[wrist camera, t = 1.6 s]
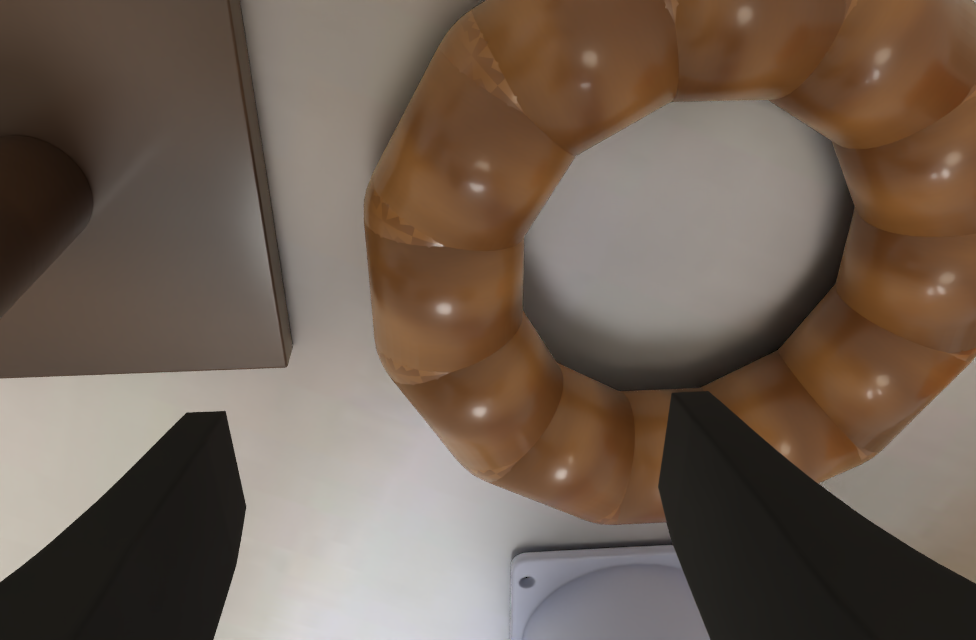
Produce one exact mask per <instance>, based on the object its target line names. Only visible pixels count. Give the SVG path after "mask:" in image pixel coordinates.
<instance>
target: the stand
mask: <svg viewBox="0 0 976 640" xmlns="http://www.w3.org/2000/svg"><path fill="white" fill-rule="evenodd" d="M292 348H293V346H292V339H291V333H290V326H289V319H288V313H287V306H286V300H285V293H284V287H283V280H282V274H281V267H280V261H279V254H278V248H277V241H276V235H275V228H274V221H273V215H272V208H271V202H270V195H269V189H268V182H267V176H266V169H265V163H264V156H263V150H262V143H261V137H260V130H259V123H258V117H257V110H256V104H255V97H254V91H253V84H252V78H251V71H250V65H249V58H248V52H247V45H246V39H245V32H244V25H243V19H242V12H241V6H240V0H0V378H24V377H50V376H77V375H103V374H129V373H155V372H181V371H207V370H233V369H260V368H285V367H287V366H288V362H289V359H290V355H291V351H292Z"/></svg>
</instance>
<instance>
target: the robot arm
mask: <svg viewBox="0 0 976 640" xmlns="http://www.w3.org/2000/svg"><path fill="white" fill-rule="evenodd" d="M658 489H659V493H660V497H661V501H662V506H663V510H664V514H665V518H666V522H667V526H668V529H669V533H670V537H671V541H672V544H673V545H659V546H640V547H621V548H602V549H583V550H563V551H544V552H526V553H521V554H519V555H517V556H515V557H514V559H513V560H512V562H511V590H510V640H976V584H975V583H973V582H972V581H970V580H968V579H966V578H964V577H962V576H961V575H959V574H957V573H955V572H953V571H951V570H950V569H948V568H946V567H944V566H942V565H940V564H938V563H937V562H935V561H933V560H932V559H930V558H928V557H926V556H925V555H923V554H921V553H920V552H918V551H916V550H915V549H913V548H911V547H910V546H908V545H907V544H905V543H903V542H902V541H900V540H899V539H897V538H896V537H894V536H892V535H891V534H889V533H888V532H886V531H885V530H883V529H881V528H880V527H878V526H877V525H875V524H874V523H872V522H871V521H869V520H868V519H866V518H865V517H863V516H862V515H860V514H859V513H857V512H856V511H855V510H853V509H852V508H850V507H849V506H848V505H846V504H845V503H844V502H842V501H841V500H840V499H838V498H837V497H836V496H834V495H833V494H831V493H830V492H829V491H827V490H826V489H825V488H823V487H822V486H821V485H819V484H818V483H817V482H815V481H814V480H813V479H812V478H810V477H809V476H808V475H807V474H805V473H804V472H803V471H801V470H800V469H799V468H798V467H797V466H795V465H794V464H793V463H792V462H790V461H789V460H788V459H787V458H786V457H784V456H783V455H782V454H781V453H780V452H778V451H777V450H776V449H775V448H774V447H772V446H771V445H770V444H769V443H768V442H767V441H765V440H764V439H763V438H762V437H761V436H760V435H758V434H757V433H756V432H755V431H754V430H753V429H752V428H750V427H749V426H748V425H747V424H746V423H745V422H744V421H742V420H741V419H740V418H739V417H738V416H737V415H736V414H734V413H733V412H732V411H731V410H730V409H729V408H728V407H727V406H725V405H724V404H723V403H722V402H721V401H720V400H718V399H717V398H716V397H715V396H714V395H712V394H711V393H710V392H709V391H697V392H673V393H672V394H671V400H670V407H669V414H668V421H667V428H666V435H665V442H664V449H663V456H662V463H661V470H660V477H659V484H658ZM245 511H246V504H245V499H244V494H243V490H242V485H241V480H240V476H239V471H238V467H237V462H236V457H235V453H234V448H233V444H232V439H231V434H230V430H229V425H228V420H227V416H226V411H217V412H193V413H186V414H185V415H184V416H183V417H182V418H181V419H180V420H179V421H178V422H177V423H176V424H175V425H174V426H173V427H172V428H171V429H170V430H169V431H168V432H167V433H166V434H165V435H164V436H163V437H162V438H161V439H160V440H159V441H158V442H157V443H156V444H155V445H154V446H153V447H152V448H151V449H150V450H149V451H148V452H147V453H146V454H145V455H144V456H143V457H142V458H141V459H140V460H139V461H138V462H137V463H136V464H135V465H134V466H133V467H132V468H131V469H130V470H129V471H128V472H127V473H126V474H125V475H124V476H123V477H122V478H121V479H120V480H119V481H118V482H117V483H115V484H114V485H113V486H112V487H111V488H110V489H109V490H108V491H107V492H106V493H105V494H104V495H103V496H102V497H101V498H100V499H99V500H98V501H97V502H96V503H95V504H93V505H92V506H91V507H90V508H89V509H88V510H87V511H86V512H84V513H83V514H82V515H81V516H80V517H79V518H78V519H77V520H75V521H74V522H73V523H72V524H71V525H70V526H69V527H68V528H66V529H65V530H64V531H63V532H62V533H61V534H60V535H59V536H57V537H56V538H55V539H54V540H53V541H52V542H51V543H49V544H48V545H47V546H46V547H45V548H43V549H42V550H41V551H40V552H39V553H37V554H36V555H35V556H34V557H32V558H31V559H30V560H29V561H27V562H26V563H25V564H24V565H22V566H21V567H20V568H19V569H17V570H16V571H15V572H13V573H12V574H11V575H9V576H8V577H7V578H5V579H4V580H3V581H1V582H0V640H213V639H214V636H215V632H216V629H217V626H218V623H219V620H220V617H221V613H222V610H223V607H224V604H225V600H226V597H227V594H228V591H229V587H230V584H231V581H232V578H233V574H234V571H235V567H236V564H237V558H238V553H239V547H240V542H241V536H242V530H243V524H244V517H245ZM524 577H529V578H524Z"/></svg>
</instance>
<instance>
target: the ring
mask: <svg viewBox="0 0 976 640" xmlns="http://www.w3.org/2000/svg"><path fill="white" fill-rule="evenodd" d="M739 100H769V101H770V102H772V103H773V104H775V105H777V106H778V107H780V108H781V109H783V110H784V111H786V112H787V113H789V114H791V115H792V116H794V117H795V118H797V119H798V120H800V121H801V122H803V123H805V124H806V125H808V126H809V127H811V128H812V129H814V130H816V131H817V132H819V133H820V134H822V135H823V136H825V137H826V138H828V139H830V140H831V141H832V143H833V146H834V149H835V152H836V155H837V158H838V160H839V163H840V166H841V169H842V172H843V175H844V177H845V180H846V183H847V186H848V189H849V192H850V194H851V197H852V200H853V203H854V206H855V208H854V212H853V216H852V220H851V224H850V228H849V232H848V236H847V240H846V244H845V248H844V252H843V256H842V260H841V264H840V268H839V272H838V276H837V280H836V284H835V285H834V286H833V287H832V288H831V290H830V291H829V292H828V293H827V294H826V295H825V296H824V298H823V299H822V300H821V301H820V302H819V303H818V305H817V306H816V307H815V308H814V309H813V310H812V311H811V313H810V314H809V315H808V316H807V317H806V318H805V320H804V321H803V322H802V323H801V324H800V325H799V326H798V328H797V329H796V330H795V331H794V332H793V333H792V335H791V336H790V337H789V338H788V339H787V340H786V341H785V343H784V344H783V345H782V346H781V347H780V348H779V349H778V350H777V351H775V352H773V353H771V354H769V355H767V356H765V357H762V358H760V359H758V360H756V361H754V362H752V363H750V364H748V365H746V366H744V367H742V368H740V369H738V370H736V371H733V372H731V373H729V374H727V375H725V376H723V377H721V378H719V379H717V380H715V381H713V382H711V383H709V384H707V385H705V386H702V387H700V388H685V389H660V390H636V391H618V390H616V389H613V388H611V387H609V386H607V385H605V384H603V383H600V382H598V381H596V380H594V379H592V378H589V377H587V376H585V375H583V374H581V373H579V372H576V371H574V370H572V369H570V368H568V367H565V366H563V365H561V364H559V363H557V362H556V360H555V359H554V357H553V356H552V354H551V353H550V351H549V350H548V348H547V347H546V345H545V344H544V342H543V340H542V339H541V337H540V336H539V334H538V333H537V331H536V330H535V328H534V327H533V325H532V324H531V322H530V321H529V319H528V318H527V316H526V314H525V313H524V311H523V274H524V236H525V235H526V233H527V232H528V230H529V229H530V227H531V225H532V224H533V222H534V221H535V219H536V218H537V216H538V214H539V213H540V211H541V210H542V208H543V207H544V205H545V204H546V202H547V200H548V199H549V197H550V196H551V194H552V193H553V191H554V189H555V188H556V186H557V185H558V183H559V182H560V180H561V178H562V177H563V175H564V174H565V172H566V171H567V169H568V167H569V166H570V164H571V163H572V161H573V160H574V158H575V156H577V155H578V154H580V153H582V152H584V151H585V150H587V149H589V148H591V147H592V146H594V145H596V144H598V143H599V142H601V141H603V140H605V139H606V138H608V137H610V136H612V135H613V134H615V133H617V132H619V131H621V130H622V129H624V128H626V127H628V126H629V125H631V124H633V123H635V122H636V121H638V120H640V119H642V118H643V117H645V116H647V115H649V114H650V113H652V112H654V111H656V110H657V109H659V108H661V107H663V106H664V105H666V104H668V103H670V102H689V101H739ZM364 226H365V237H366V248H367V259H368V271H369V282H370V293H371V304H372V315H373V326H374V338H375V343H376V349H377V353H378V355H379V358H380V360H381V362H382V365H383V367H384V368H385V370H386V372H387V373H388V374H389V376H390V377H391V379H392V380H393V381H394V382H395V384H396V385H397V386H398V387H399V389H400V390H401V391H402V392H403V394H404V395H405V396H406V397H407V399H408V400H409V401H410V402H411V404H412V405H413V406H414V407H415V409H416V410H417V411H418V412H419V414H420V415H421V416H422V417H423V418H424V420H425V421H426V422H427V423H428V425H429V426H430V427H431V428H432V430H433V431H434V432H435V433H436V435H437V436H438V437H439V438H440V440H441V441H442V442H443V443H444V445H445V446H446V447H447V448H448V450H449V451H450V452H451V453H452V455H453V456H454V457H455V458H456V459H457V461H458V462H459V463H460V464H461V465H462V466H463V467H464V468H465V469H467V470H468V471H469V472H470V473H471V474H473V475H474V476H476V477H478V478H480V479H482V480H484V481H486V482H488V483H491V484H493V485H496V486H499V487H501V488H504V489H506V490H509V491H511V492H514V493H517V494H519V495H522V496H524V497H527V498H529V499H532V500H534V501H537V502H540V503H542V504H545V505H547V506H550V507H552V508H555V509H558V510H560V511H563V512H565V513H568V514H570V515H573V516H575V517H578V518H581V519H583V520H586V521H589V522H593V523H597V524H605V525H621V524H641V523H661V522H666V518H665V514H664V510H663V506H662V501H661V497H660V493H659V489H658V484H659V477H660V470H661V463H662V456H663V449H664V442H665V435H666V428H667V421H668V414H669V407H670V400H671V394H672V393H673V392H697V391H709V392H710V393H711V394H712V395H714V396H715V397H716V398H717V399H718V400H720V401H721V402H722V403H723V404H724V405H725V406H727V407H728V408H729V409H730V410H731V411H732V412H733V413H734V414H736V415H737V416H738V417H739V418H740V419H741V420H742V421H744V422H745V423H746V424H747V425H748V426H749V427H750V428H752V429H753V430H754V431H755V432H756V433H757V434H758V435H760V436H761V437H762V438H763V439H764V440H765V441H767V442H768V443H769V444H770V445H771V446H772V447H774V448H775V449H776V450H777V451H778V452H780V453H781V454H782V455H783V456H784V457H786V458H787V459H788V460H789V461H790V462H792V463H793V464H794V465H795V466H797V467H798V468H799V469H800V470H801V471H803V472H804V473H805V474H807V475H808V476H809V477H810V478H812V479H813V480H814V481H815V482H817V483H820V482H823V481H825V480H827V479H829V478H832V477H834V476H836V475H838V474H841V473H843V472H845V471H847V470H850V469H852V468H854V467H857V466H859V465H861V464H863V463H864V462H866V461H868V460H870V459H872V458H873V457H874V456H875V455H877V454H878V453H879V452H880V451H882V450H883V449H884V448H885V447H886V446H887V445H888V444H889V443H890V442H891V441H892V440H893V439H894V438H895V437H896V436H897V435H898V434H899V433H900V432H901V431H902V430H903V429H904V428H905V427H906V426H907V425H908V424H909V423H910V422H911V421H912V420H913V419H914V418H915V417H916V416H917V415H918V414H919V413H920V412H921V411H922V410H923V409H924V408H925V407H926V406H927V405H928V404H929V403H930V402H931V401H932V400H933V399H934V398H935V397H936V396H937V395H938V394H939V393H940V392H941V391H942V390H943V389H944V388H945V387H946V386H947V385H949V384H950V383H951V382H952V381H953V380H954V379H955V378H956V377H957V376H958V375H959V374H960V373H961V372H962V371H963V370H964V369H965V368H966V367H967V366H968V365H969V364H970V363H971V362H972V361H973V359H974V358H975V357H976V3H975V2H973V1H972V0H486V1H484V2H483V3H481V4H479V5H478V6H476V7H475V8H473V9H472V10H470V11H469V12H468V13H466V14H465V15H463V16H462V17H461V18H460V19H459V20H458V21H457V22H456V23H455V24H454V25H453V26H452V27H451V28H450V29H449V31H448V32H447V33H446V35H445V37H444V38H443V40H442V42H441V43H440V44H439V46H438V48H437V50H436V52H435V54H434V56H433V58H432V60H431V62H430V64H429V66H428V67H427V69H426V71H425V73H424V75H423V77H422V79H421V81H420V83H419V85H418V87H417V89H416V91H415V93H414V95H413V96H412V98H411V100H410V102H409V104H408V106H407V108H406V110H405V112H404V114H403V116H402V118H401V120H400V122H399V123H398V125H397V127H396V129H395V131H394V133H393V135H392V137H391V139H390V141H389V143H388V145H387V147H386V149H385V150H384V152H383V154H382V156H381V158H380V160H379V162H378V164H377V166H376V168H375V170H374V172H373V174H372V177H371V179H370V181H369V184H368V186H367V189H366V194H365V199H364Z"/></svg>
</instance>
